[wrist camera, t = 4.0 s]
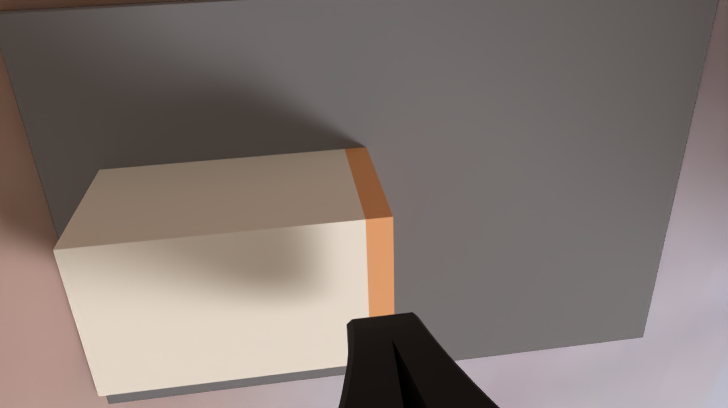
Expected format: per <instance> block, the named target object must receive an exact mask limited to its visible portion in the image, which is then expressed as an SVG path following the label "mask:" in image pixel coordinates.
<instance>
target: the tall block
mask: <svg viewBox="0 0 728 408" xmlns="http://www.w3.org/2000/svg"><path fill="white" fill-rule="evenodd" d="M53 252H54V255H55V258H56V262H57V265H58V268H59V271H60V274H61V278H62V281H63V284H64V287H65V290H66V294H67V297H68V300H69V303H70V306H71V310H72V313H73V316H74V319H75V322H76V326H77V329H78V332H79V335H80V338H81V342H82V345H83V348H84V351H85V354H86V358H87V361H88V364H89V367H90V370H91V374H92V377H93V380H94V383H95V386H96V390H97V393H98V396H106V395H114V394H122V393H130V392H139V391H147V390H155V389H163V388H171V387H179V386H187V385H195V384H203V383H211V382H219V381H228V380H236V379H244V378H252V377H260V376H268V375H276V374H284V373H292V372H300V371H309V370H317V369H325V368H333V367H341V366H347V358H348V342H347V324H348V323H349V322H350V321H351V320H352V319H358V318H366V317H375V316H384V315H392V314H394V240H393V215H392V212H391V210H390V207H389V205H388V202H387V199H386V197H385V194H384V192H383V189H382V186H381V184H380V181H379V179H378V176H377V173H376V171H375V168H374V166H373V163H372V160H371V158H370V155H369V153H368V150H367V147H362V148H350V149H338V150H326V151H314V152H303V153H291V154H279V155H267V156H255V157H243V158H232V159H220V160H208V161H196V162H184V163H173V164H161V165H149V166H137V167H125V168H113V169H102V170H99V171H98V173H97V175H96V176H95V178H94V180H93V182H92V183H91V185H90V187H89V188H88V190H87V192H86V194H85V195H84V197H83V199H82V201H81V202H80V204H79V206H78V207H77V209H76V211H75V213H74V214H73V216H72V218H71V220H70V221H69V223H68V225H67V226H66V228H65V230H64V232H63V233H62V235H61V237H60V239H59V240H58V242H57V244H56V245H55V247H54V249H53Z"/></svg>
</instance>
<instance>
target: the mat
mask: <svg viewBox="0 0 728 408" xmlns="http://www.w3.org/2000/svg"><path fill="white" fill-rule="evenodd" d="M718 2H719V0H191V1H173V2H156V3H138V4H120V5H102V6H85V7H67V8H49V9H31V10H14V11H0V49H1V52H2V55H3V59H4V62H5V65H6V68H7V72H8V75H9V78H10V82H11V85H12V88H13V91H14V95H15V98H16V101H17V105H18V108H19V111H20V114H21V118H22V121H23V124H24V128H25V131H26V134H27V137H28V141H29V144H30V147H31V151H32V154H33V157H34V160H35V164H36V167H37V170H38V174H39V177H40V180H41V183H42V187H43V190H44V193H45V197H46V200H47V203H48V206H49V210H50V213H51V216H52V219H53V223H54V226H55V229H56V233H57V236H58V239H60V237H61V235H62V233H63V232H64V230H65V228H66V226H67V225H68V223H69V221H70V220H71V218H72V216H73V214H74V213H75V211H76V209H77V207H78V206H79V204H80V202H81V201H82V199H83V197H84V195H85V194H86V192H87V190H88V188H89V187H90V185H91V183H92V182H93V180H94V178H95V176H96V175H97V173H98V171H99V170H102V169H113V168H125V167H137V166H149V165H161V164H173V163H184V162H196V161H208V160H220V159H232V158H243V157H255V156H267V155H279V154H291V153H303V152H314V151H326V150H338V149H350V148H362V147H367V150H368V153H369V155H370V158H371V160H372V163H373V166H374V168H375V171H376V173H377V176H378V179H379V181H380V184H381V186H382V189H383V192H384V194H385V197H386V199H387V202H388V205H389V207H390V210H391V212H392V215H393V240H394V314H401V313H409V312H413V313H414V314H416V315H417V316H418V317H419V318H420V320H421V321H422V323H423V324H424V325H425V326H426V328H427V329H428V330H429V332H430V333H431V334H432V335H433V337H434V338H435V339H436V340H437V342H438V343H439V344H440V345H441V346H442V348H443V349H444V350H445V351H446V352H447V353H448V355H449V356H450V357H451V358H452V359H453V360H454V361H456V360H464V359H472V358H480V357H488V356H496V355H504V354H512V353H520V352H528V351H536V350H544V349H552V348H560V347H569V346H577V345H585V344H593V343H601V342H609V341H617V340H625V339H633V338H641V337H643V334H644V330H645V326H646V321H647V317H648V312H649V308H650V303H651V299H652V294H653V290H654V286H655V281H656V277H657V272H658V268H659V263H660V259H661V255H662V250H663V246H664V241H665V237H666V232H667V228H668V223H669V219H670V215H671V210H672V206H673V201H674V197H675V192H676V188H677V184H678V179H679V175H680V170H681V166H682V161H683V157H684V152H685V148H686V144H687V139H688V135H689V130H690V126H691V121H692V117H693V113H694V108H695V104H696V99H697V95H698V90H699V86H700V81H701V77H702V73H703V68H704V64H705V59H706V55H707V50H708V46H709V42H710V37H711V33H712V28H713V24H714V19H715V15H716V10H717V6H718ZM346 367H347V366H341V367H333V368H325V369H317V370H309V371H300V372H292V373H284V374H276V375H268V376H260V377H252V378H244V379H236V380H228V381H219V382H211V383H203V384H195V385H187V386H179V387H171V388H163V389H155V390H147V391H139V392H130V393H122V394H114V395H106V397H107V400H108V403H109V404H112V403H120V402H128V401H136V400H144V399H152V398H160V397H168V396H176V395H184V394H192V393H200V392H208V391H216V390H224V389H232V388H240V387H248V386H256V385H264V384H272V383H280V382H288V381H296V380H304V379H312V378H320V377H328V376H336V375H344V374H345V373H346Z"/></svg>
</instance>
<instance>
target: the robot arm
mask: <svg viewBox="0 0 728 408" xmlns="http://www.w3.org/2000/svg"><path fill="white" fill-rule="evenodd" d="M347 342H348V358H347V367H346V373H345V379H344V384H343V390H342V395H341V400H340V404H339V408H499V407H498V406H497V405H496V404H495V403H494V402H493V401H492V400H491V399H490V398H489V397H488V396H487V395H486V394H485V393H484V392H483V391H482V390H481V389H480V388H479V387H478V386H477V385H476V384H475V383H474V382H473V381H472V380H471V379H470V378H469V377H468V376H467V374H466V373H465V372H464V371H463V370H462V369H461V368H460V367H459V366H458V365H457V364H456V363H455V361H454V360H453V359H452V358H451V357H450V356H449V355H448V353H447V352H446V351H445V350H444V349H443V348H442V346H441V345H440V344H439V343H438V342H437V340H436V339H435V338H434V337H433V335H432V334H431V333H430V332H429V330H428V329H427V328H426V326H425V325H424V324H423V323H422V321H421V320H420V318H419V317H418V316H417V315H416V314H414V313H413V312H409V313H401V314H392V315H384V316H375V317H366V318H358V319H352V320H351V321H350V322H349V323H348V324H347Z"/></svg>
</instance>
